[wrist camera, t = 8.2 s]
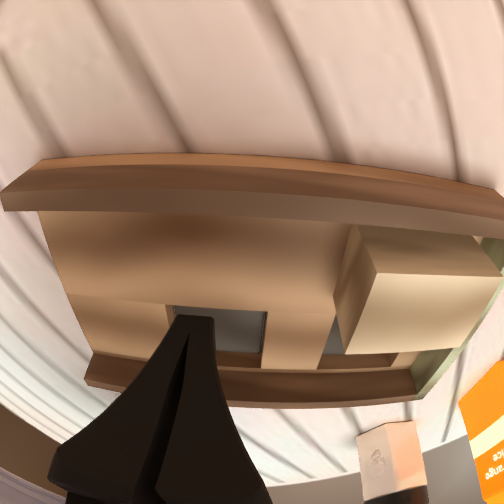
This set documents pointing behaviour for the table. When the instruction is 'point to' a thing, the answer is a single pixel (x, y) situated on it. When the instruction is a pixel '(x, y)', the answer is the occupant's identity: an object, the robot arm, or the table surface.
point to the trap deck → (241, 264)
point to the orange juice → (487, 431)
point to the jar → (392, 465)
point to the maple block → (410, 289)
